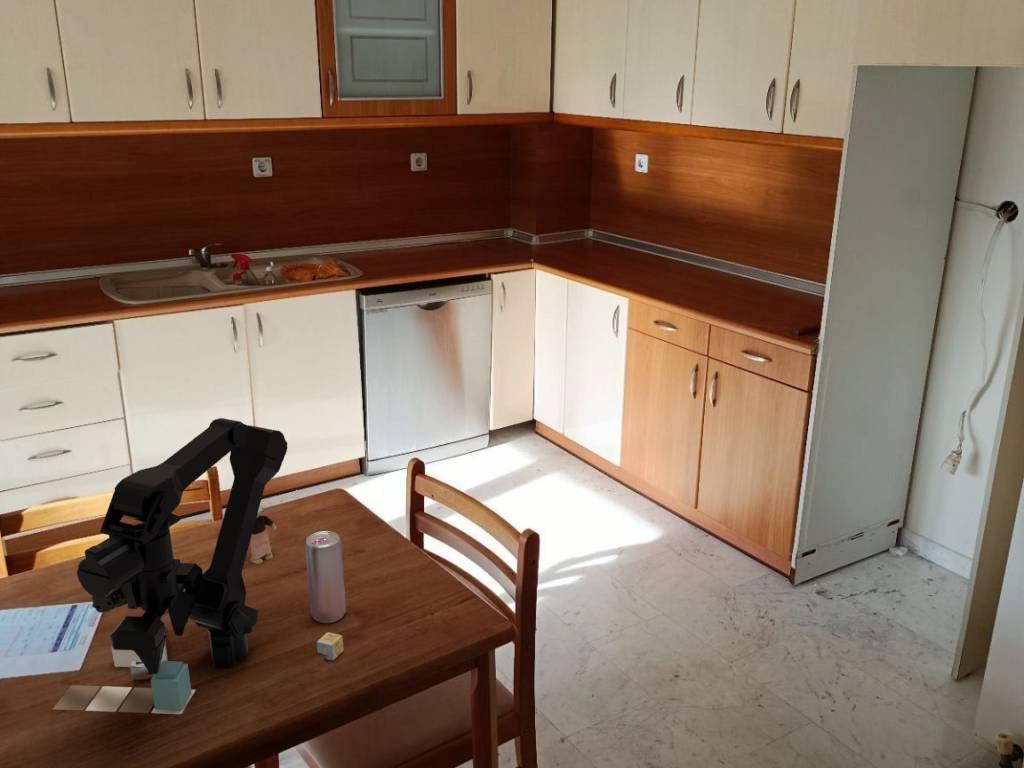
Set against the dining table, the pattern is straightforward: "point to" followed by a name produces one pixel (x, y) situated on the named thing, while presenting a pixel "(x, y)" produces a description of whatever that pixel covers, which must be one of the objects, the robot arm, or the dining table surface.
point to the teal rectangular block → (171, 686)
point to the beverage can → (325, 576)
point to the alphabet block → (330, 645)
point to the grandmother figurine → (261, 538)
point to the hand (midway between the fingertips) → (167, 653)
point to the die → (124, 657)
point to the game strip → (111, 700)
